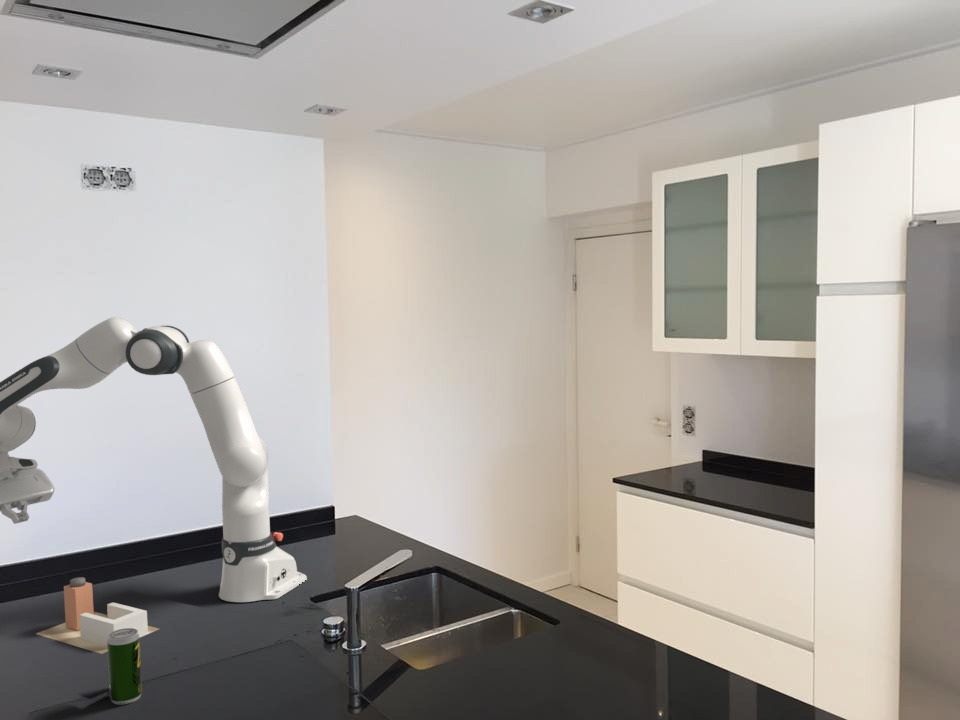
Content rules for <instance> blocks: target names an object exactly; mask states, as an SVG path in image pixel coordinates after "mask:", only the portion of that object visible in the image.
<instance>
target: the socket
mask: <svg viewBox="0 0 960 720" xmlns="http://www.w3.org/2000/svg"><path fill="white" fill-rule="evenodd" d="M106 607H107V609H106V610H107V611H106V612H107V614H106V615H108V618H105V617H101V616H97V615H93V614H90V613H83V614H81V615H79V616H80V635H81V638H82V639H85V640H89V641H92V642H96V643H99V644H102V645H106V646H107V640H108V635H109V634H110V633H112V632H113V631H116V630H119V629H125V628H134V629H137V630H138V634H139V637H140V638H142V636H143V637H145V636H146V635H149V634H148V626H149V625H148V611H147V610H145V609H141V608H137V607H133V606H129V605H124V604H120V603H118V602H110V603H107V604H106ZM144 635H145V636H144Z"/></svg>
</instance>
